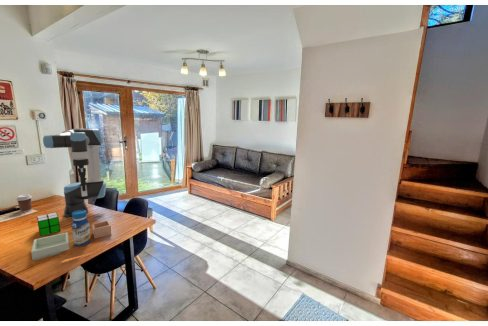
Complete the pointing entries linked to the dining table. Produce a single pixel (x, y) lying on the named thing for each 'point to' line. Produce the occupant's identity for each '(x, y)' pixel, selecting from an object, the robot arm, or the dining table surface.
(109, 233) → the pink box
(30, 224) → the dining table surface
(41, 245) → the green box
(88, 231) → the beverage bottle
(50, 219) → the puzzle cube
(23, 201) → the coffee cup
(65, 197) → the robot arm
